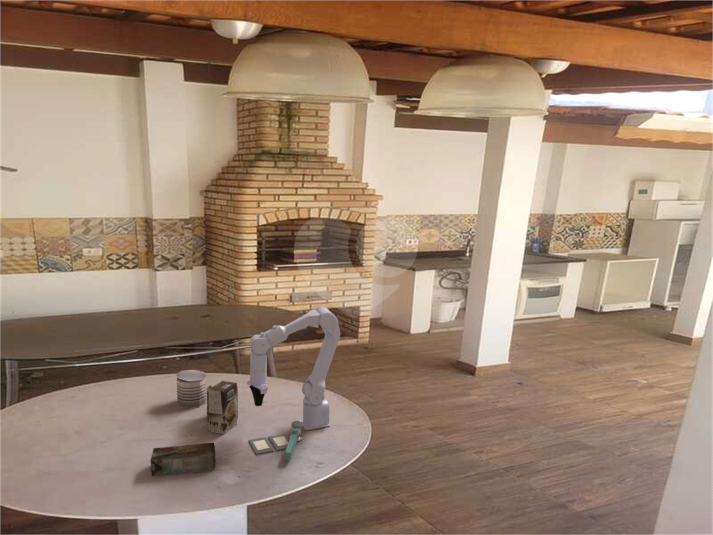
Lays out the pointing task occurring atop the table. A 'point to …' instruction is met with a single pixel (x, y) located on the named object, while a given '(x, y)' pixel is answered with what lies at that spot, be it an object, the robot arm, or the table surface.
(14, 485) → the table surface
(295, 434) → the bar
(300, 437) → the pivot post
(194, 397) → the can
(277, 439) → the label tile
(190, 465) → the beverage carton
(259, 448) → the label tile
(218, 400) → the coffee box
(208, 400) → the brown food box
